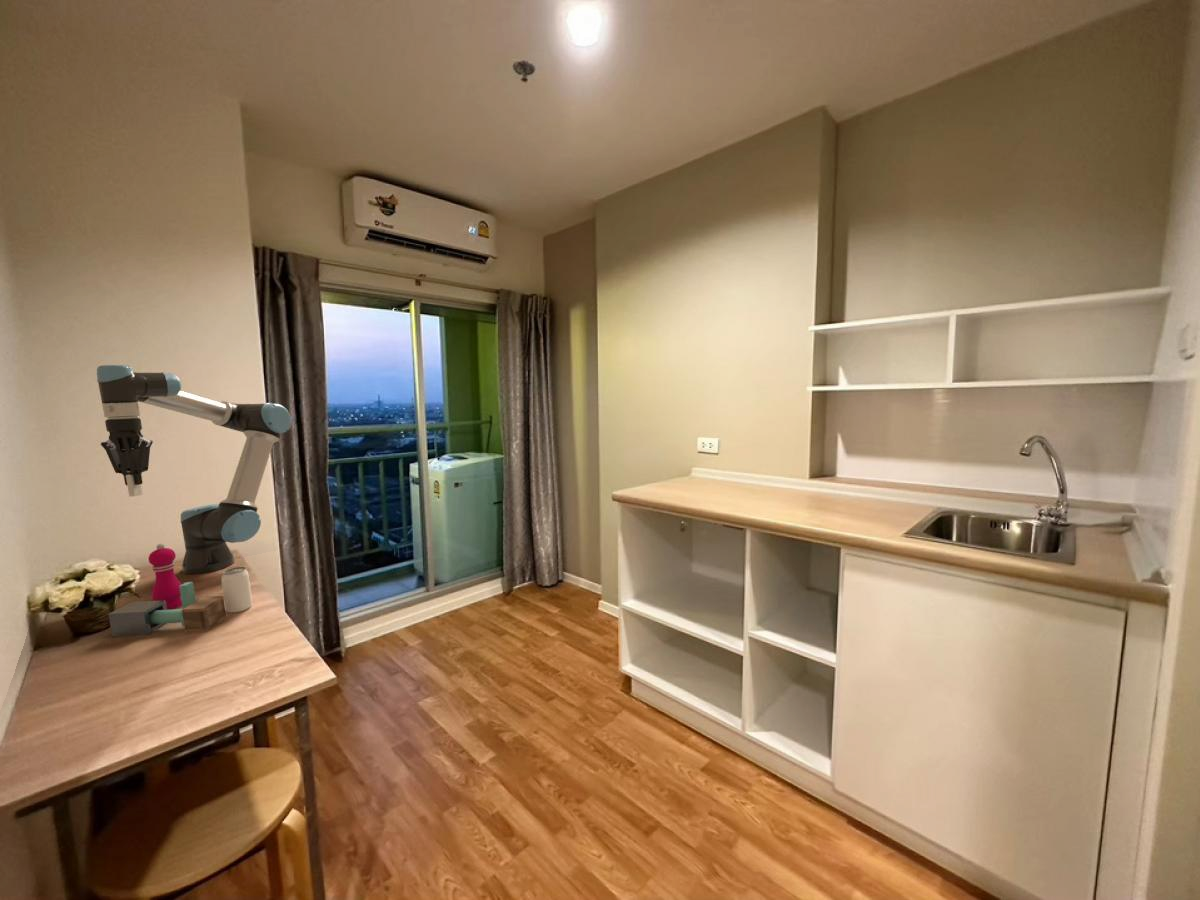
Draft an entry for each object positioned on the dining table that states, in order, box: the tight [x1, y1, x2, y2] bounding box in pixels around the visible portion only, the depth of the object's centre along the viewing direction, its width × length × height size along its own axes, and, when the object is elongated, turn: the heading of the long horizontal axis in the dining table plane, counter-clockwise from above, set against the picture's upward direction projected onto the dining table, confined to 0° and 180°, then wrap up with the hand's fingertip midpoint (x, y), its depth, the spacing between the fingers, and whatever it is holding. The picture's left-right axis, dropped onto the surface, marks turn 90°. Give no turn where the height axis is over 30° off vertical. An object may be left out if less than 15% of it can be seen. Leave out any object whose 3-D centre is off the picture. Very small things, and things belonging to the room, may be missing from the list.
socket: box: [181, 595, 227, 634], centre depth 132 cm, size 8×6×7 cm
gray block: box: [108, 600, 168, 638], centre depth 131 cm, size 7×9×7 cm
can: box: [220, 566, 253, 614], centre depth 142 cm, size 6×6×12 cm
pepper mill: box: [148, 543, 183, 610], centre depth 144 cm, size 7×7×20 cm
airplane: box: [148, 581, 197, 627], centre depth 131 cm, size 16×5×11 cm, turn 94°
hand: (135, 495), depth 144 cm, fingers closed
